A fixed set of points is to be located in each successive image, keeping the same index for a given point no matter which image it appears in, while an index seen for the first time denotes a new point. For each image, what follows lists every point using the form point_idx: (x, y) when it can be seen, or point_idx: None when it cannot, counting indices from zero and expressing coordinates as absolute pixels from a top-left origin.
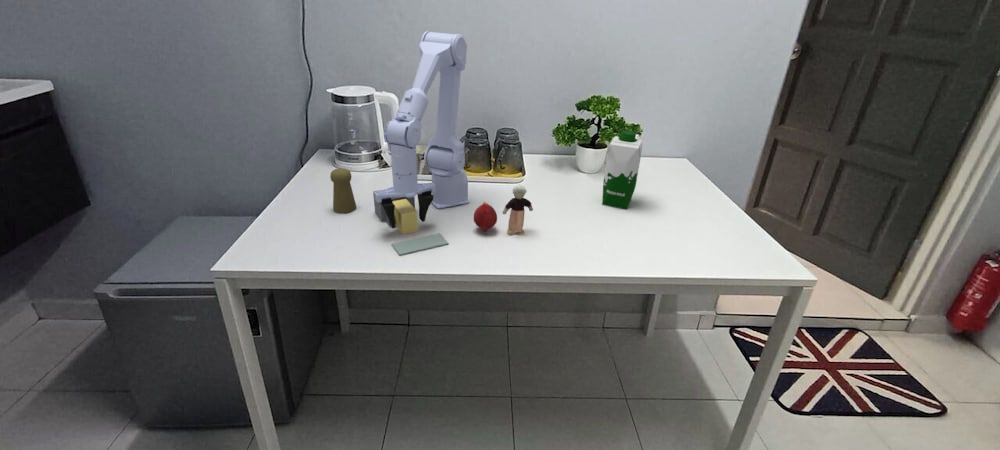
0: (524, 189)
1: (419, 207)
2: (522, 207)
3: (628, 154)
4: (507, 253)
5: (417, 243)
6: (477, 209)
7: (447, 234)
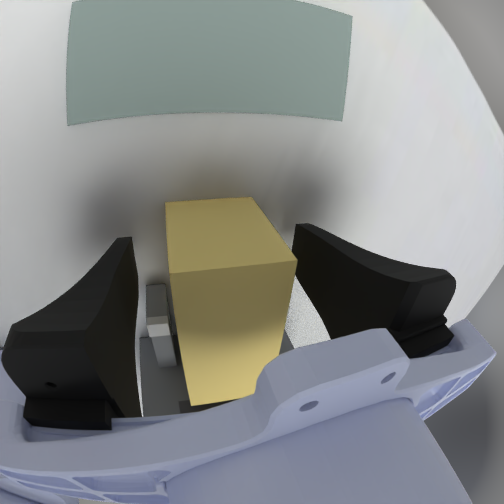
0: None
1: (132, 331)
2: None
3: None
4: None
5: (231, 52)
6: None
7: (34, 114)
